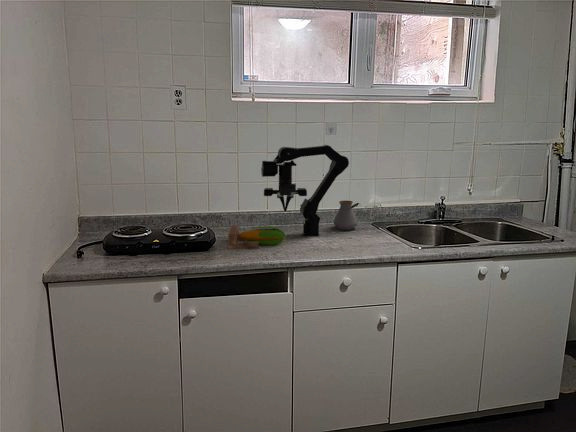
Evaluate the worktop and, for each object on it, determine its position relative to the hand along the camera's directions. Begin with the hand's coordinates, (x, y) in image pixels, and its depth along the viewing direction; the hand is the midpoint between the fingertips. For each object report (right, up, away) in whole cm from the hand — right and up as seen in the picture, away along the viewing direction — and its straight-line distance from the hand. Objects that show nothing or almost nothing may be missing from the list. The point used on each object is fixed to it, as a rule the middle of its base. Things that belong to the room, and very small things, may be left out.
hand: (285, 211), depth 215 cm
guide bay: (-17, -14, -12) cm, 25 cm away
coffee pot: (+30, -9, +12) cm, 33 cm away
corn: (-10, -14, -12) cm, 21 cm away
